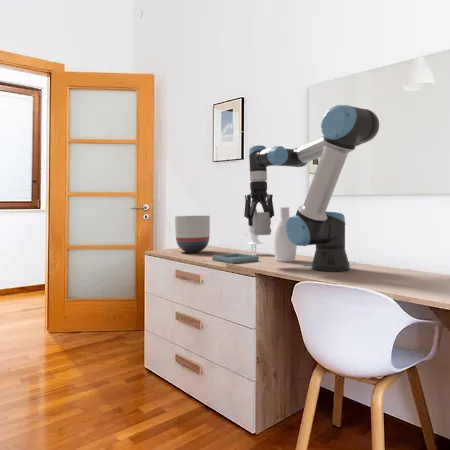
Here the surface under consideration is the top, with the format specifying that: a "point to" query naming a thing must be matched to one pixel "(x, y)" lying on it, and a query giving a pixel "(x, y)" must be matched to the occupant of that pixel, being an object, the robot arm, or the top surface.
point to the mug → (262, 223)
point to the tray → (235, 258)
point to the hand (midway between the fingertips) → (259, 232)
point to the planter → (192, 232)
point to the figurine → (253, 241)
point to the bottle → (283, 239)
